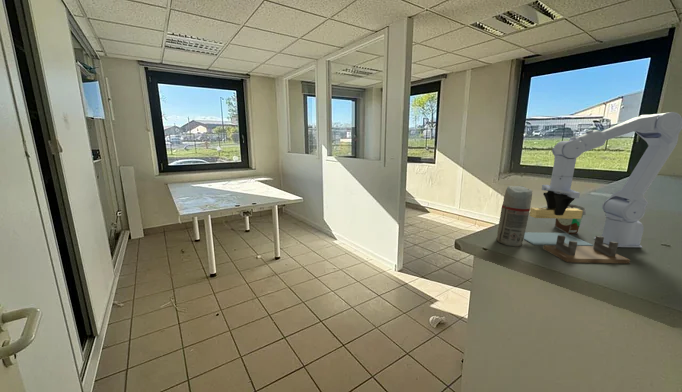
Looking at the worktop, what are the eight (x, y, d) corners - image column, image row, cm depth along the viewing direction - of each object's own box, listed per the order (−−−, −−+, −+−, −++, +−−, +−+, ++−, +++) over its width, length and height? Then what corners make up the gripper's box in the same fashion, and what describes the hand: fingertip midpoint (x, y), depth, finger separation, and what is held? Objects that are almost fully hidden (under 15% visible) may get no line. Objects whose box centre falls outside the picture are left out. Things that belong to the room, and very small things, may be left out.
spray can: (526, 242, 94) (535, 186, 90) (521, 249, 88) (531, 189, 84) (499, 236, 100) (506, 183, 96) (493, 242, 94) (500, 186, 90)
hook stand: (598, 249, 89) (601, 233, 87) (629, 263, 79) (633, 245, 78) (543, 248, 89) (545, 232, 88) (567, 262, 79) (570, 244, 78)
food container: (589, 236, 101) (595, 211, 98) (570, 235, 102) (576, 210, 100) (569, 226, 112) (574, 203, 110) (552, 225, 114) (557, 202, 111)
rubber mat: (565, 233, 103) (565, 232, 103) (593, 246, 92) (593, 245, 91) (512, 233, 104) (513, 232, 104) (533, 245, 92) (534, 243, 92)
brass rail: (574, 216, 97) (575, 208, 96) (581, 218, 94) (582, 210, 94) (529, 215, 97) (530, 207, 97) (535, 218, 95) (536, 209, 94)
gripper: (536, 173, 100) (530, 208, 103) (567, 178, 86) (559, 219, 89) (555, 173, 100) (548, 208, 103) (589, 179, 86) (581, 219, 88)
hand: (555, 213), depth 96 cm, fingers closed on brass rail, 3 cm apart
